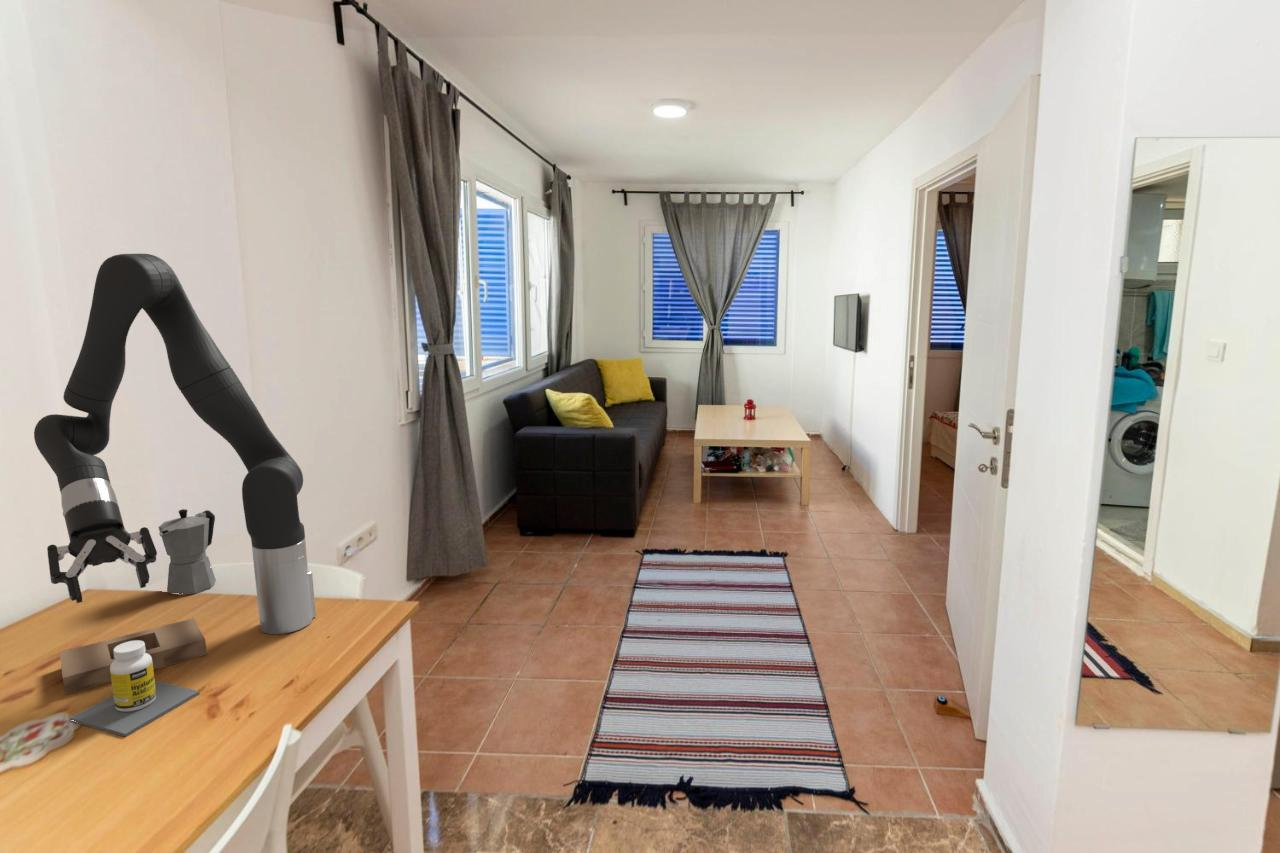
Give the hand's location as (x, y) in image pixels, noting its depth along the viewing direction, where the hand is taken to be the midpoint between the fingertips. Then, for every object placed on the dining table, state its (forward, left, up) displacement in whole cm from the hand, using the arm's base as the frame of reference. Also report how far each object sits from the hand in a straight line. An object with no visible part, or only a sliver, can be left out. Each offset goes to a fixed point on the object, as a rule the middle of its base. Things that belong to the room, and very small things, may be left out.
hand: (112, 592), depth 115 cm
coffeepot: (-33, -25, -16) cm, 44 cm away
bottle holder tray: (-5, -5, -16) cm, 17 cm away
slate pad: (+5, +9, -16) cm, 19 cm away
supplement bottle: (+5, +9, -16) cm, 19 cm away
